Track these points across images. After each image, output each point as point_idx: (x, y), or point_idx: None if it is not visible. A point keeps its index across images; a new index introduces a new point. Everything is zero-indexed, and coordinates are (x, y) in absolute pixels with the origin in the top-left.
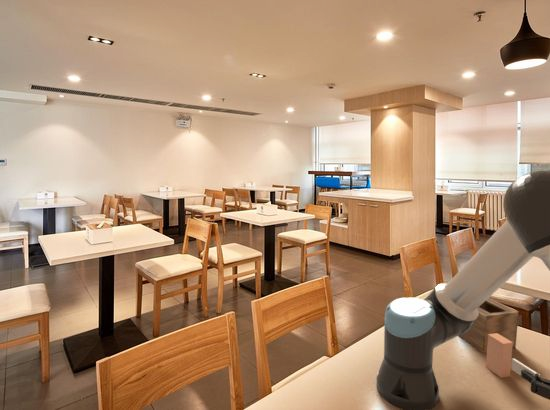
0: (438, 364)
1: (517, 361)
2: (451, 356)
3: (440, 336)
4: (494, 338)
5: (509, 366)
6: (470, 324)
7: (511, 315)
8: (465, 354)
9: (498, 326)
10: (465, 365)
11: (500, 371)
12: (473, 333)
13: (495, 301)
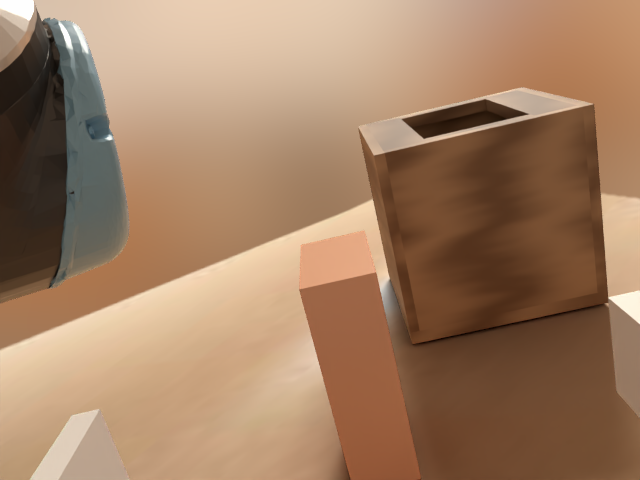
0: (145, 420)
1: (64, 443)
2: (253, 374)
3: None
4: (300, 263)
5: (397, 424)
6: (67, 191)
7: (548, 130)
8: None
9: (474, 202)
10: (259, 418)
11: (346, 456)
12: (390, 258)
13: (530, 92)
